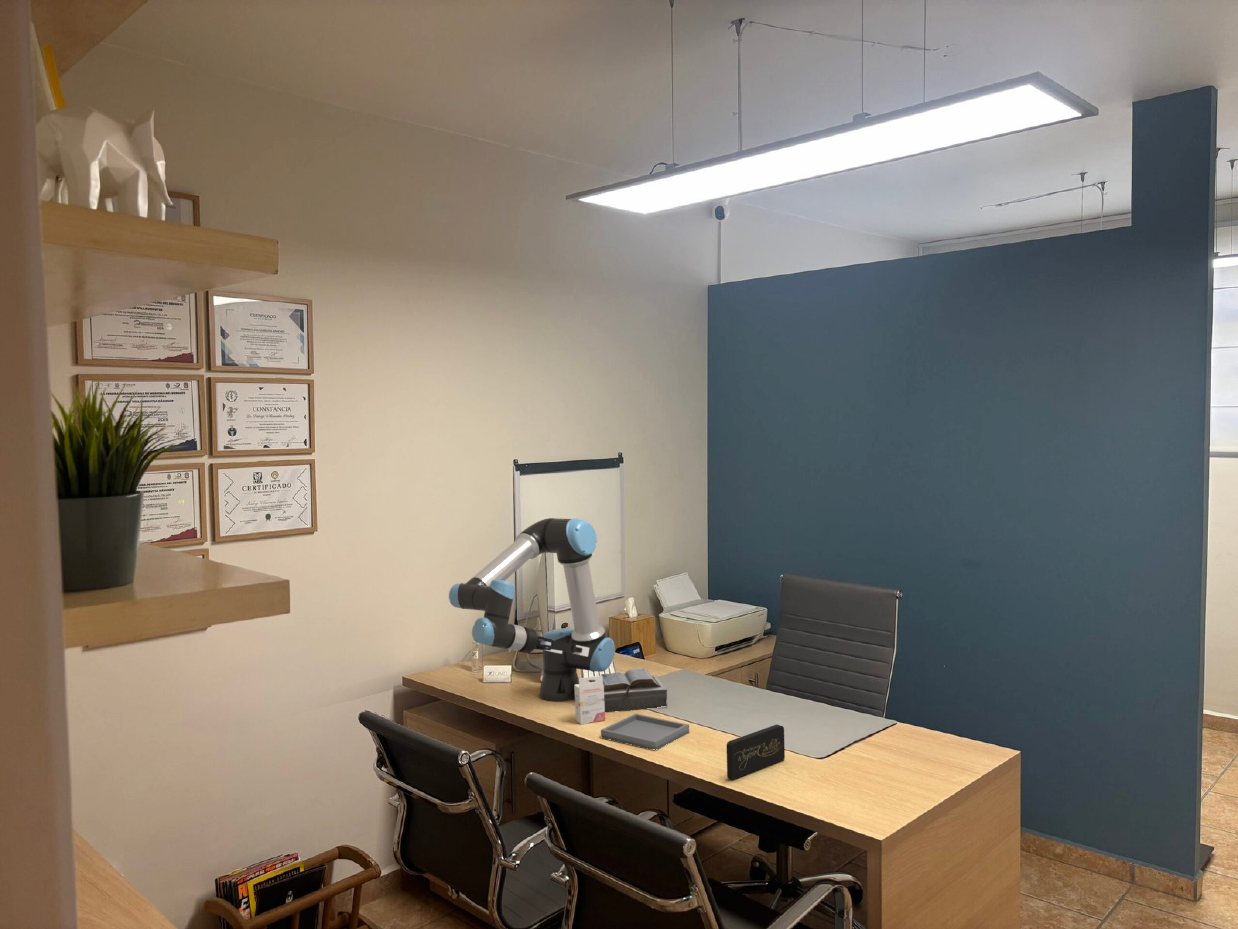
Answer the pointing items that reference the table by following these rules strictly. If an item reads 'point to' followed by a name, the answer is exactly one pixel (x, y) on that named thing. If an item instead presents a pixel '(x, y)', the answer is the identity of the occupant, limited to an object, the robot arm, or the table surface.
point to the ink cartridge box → (589, 700)
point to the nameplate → (755, 752)
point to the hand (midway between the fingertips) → (574, 650)
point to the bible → (633, 691)
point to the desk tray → (645, 731)
